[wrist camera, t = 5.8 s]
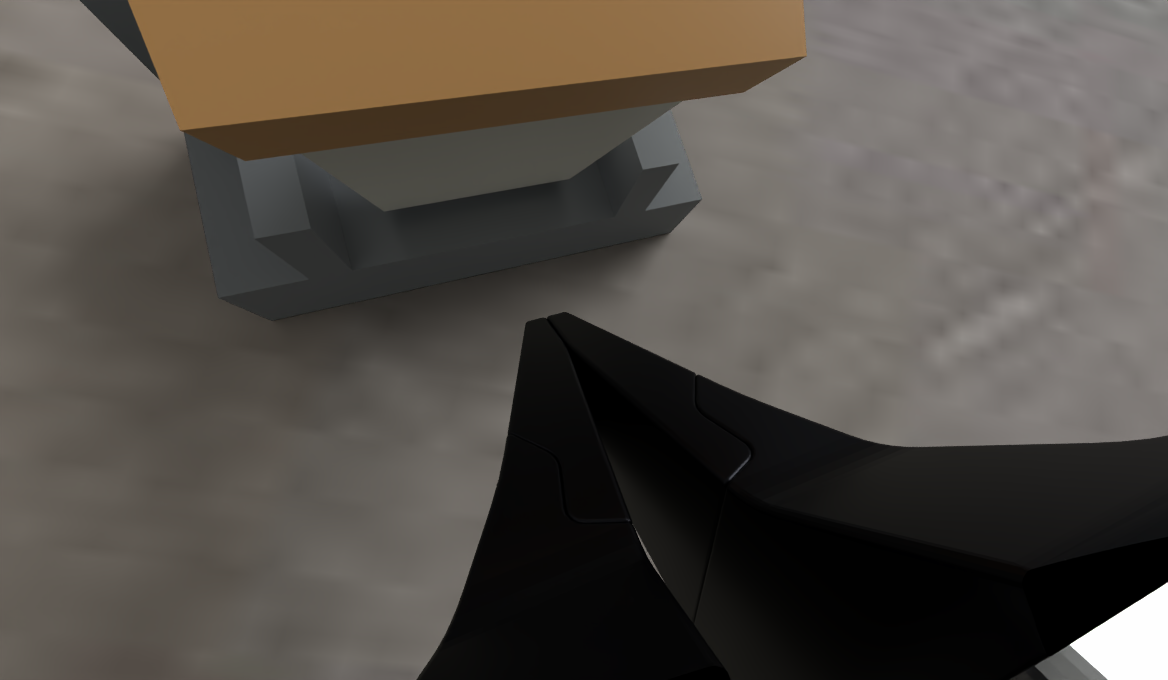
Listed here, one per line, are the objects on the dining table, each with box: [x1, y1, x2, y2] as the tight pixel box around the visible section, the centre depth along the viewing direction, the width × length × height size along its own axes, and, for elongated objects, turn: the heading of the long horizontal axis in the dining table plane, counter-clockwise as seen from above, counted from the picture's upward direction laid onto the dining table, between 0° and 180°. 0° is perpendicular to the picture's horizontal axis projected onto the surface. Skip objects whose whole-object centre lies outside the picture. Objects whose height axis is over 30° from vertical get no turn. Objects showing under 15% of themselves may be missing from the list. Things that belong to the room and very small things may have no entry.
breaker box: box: [80, 0, 702, 321], centre depth 14 cm, size 8×16×7 cm, turn 107°
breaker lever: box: [128, 0, 807, 212], centre depth 9 cm, size 3×7×10 cm, turn 107°
